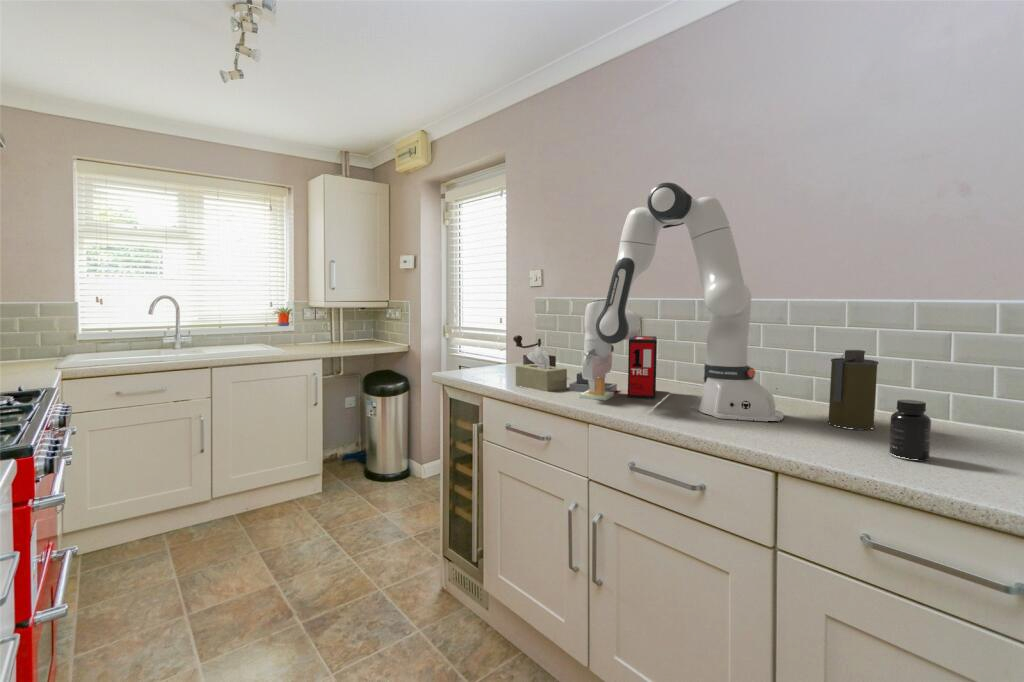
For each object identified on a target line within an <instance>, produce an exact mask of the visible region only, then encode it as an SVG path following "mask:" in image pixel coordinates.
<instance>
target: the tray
mask: <svg viewBox="0 0 1024 682" xmlns="http://www.w3.org/2000/svg"><path fill="white" fill-rule="evenodd" d="M614 396H615V392H607V391H605V396H600V395H589V390H587V391H585V392H581V393H579V399H586V400H598V401H607V400H609V399H611V398H614Z"/></svg>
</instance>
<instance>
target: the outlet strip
mask: <svg viewBox="0 0 1024 682" xmlns="http://www.w3.org/2000/svg"><path fill="white" fill-rule="evenodd" d="M617 388H618V384H617V383H611V382H605V391H607V392H614V393H615V392H616V391H617V390H618V389H617ZM568 389H569V391H572V392H581V393H583V392H585V391H587V390H589V385H584V384H577V380H575V381H572V382H571V383H569V387H568Z"/></svg>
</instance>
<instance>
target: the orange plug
mask: <svg viewBox="0 0 1024 682" xmlns="http://www.w3.org/2000/svg"><path fill="white" fill-rule="evenodd" d="M605 383H606V378H605V379H603V378H599V377H598V378H596V381H595V386H596V391H594V392H590V390H589V395H600V396H605Z"/></svg>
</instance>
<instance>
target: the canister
mask: <svg viewBox="0 0 1024 682" xmlns="http://www.w3.org/2000/svg"><path fill="white" fill-rule="evenodd" d="M865 353H866V350H861V349H845V350H844V353H843V355H842V356H841V357H837V358H835V357H834V358H831V359H830V361H831V368H830V369H831V370H830V385H829V388H830V389H829V401H828V402H829V403H828V404H829V406H828V420H827V424H828V423H830V424H832V425H836V426H840V427H846V428H853V429H871V428H874V427H875V413H876V412H875V409H876V393H877V392H876V391H877V377H878V365H879V363H880V362H879V361H877V360H874V359H865ZM830 424H829V425H830ZM832 425H831V426H832ZM875 428H876V427H875ZM875 428H874V429H875Z"/></svg>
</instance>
